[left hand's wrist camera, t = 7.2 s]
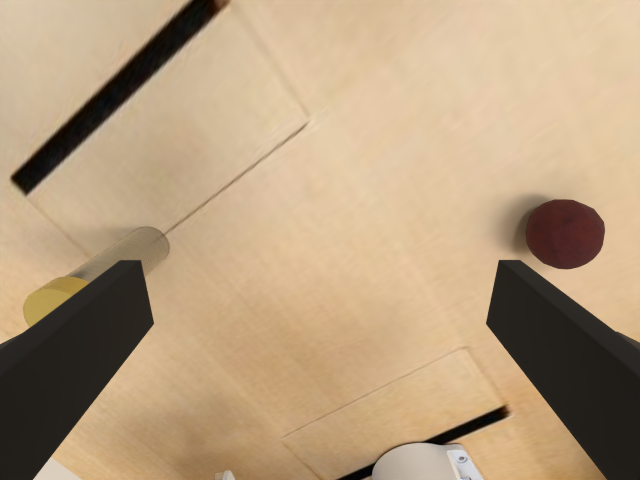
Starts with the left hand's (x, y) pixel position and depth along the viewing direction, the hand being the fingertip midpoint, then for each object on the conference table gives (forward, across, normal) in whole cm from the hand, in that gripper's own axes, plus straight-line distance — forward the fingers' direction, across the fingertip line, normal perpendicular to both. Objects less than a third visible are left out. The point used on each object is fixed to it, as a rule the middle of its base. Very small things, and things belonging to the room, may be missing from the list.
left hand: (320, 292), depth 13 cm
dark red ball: (+28, +27, -6) cm, 39 cm away
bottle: (+28, -21, -9) cm, 36 cm away
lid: (+12, -21, -9) cm, 26 cm away
